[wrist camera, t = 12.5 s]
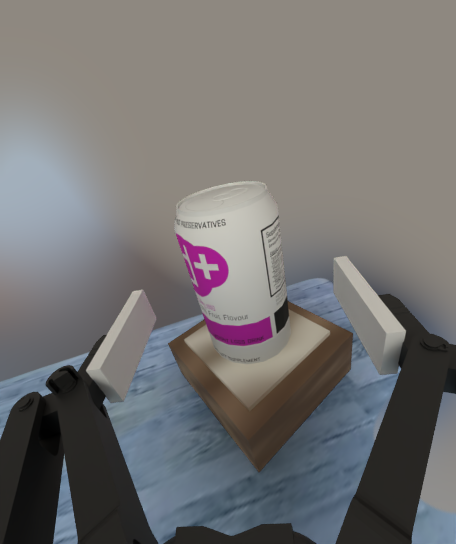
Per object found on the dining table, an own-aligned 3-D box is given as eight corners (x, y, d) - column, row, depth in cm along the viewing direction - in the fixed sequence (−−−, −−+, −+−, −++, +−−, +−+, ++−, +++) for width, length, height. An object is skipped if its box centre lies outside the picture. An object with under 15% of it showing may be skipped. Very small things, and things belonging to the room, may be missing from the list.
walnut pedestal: (182, 373, 32) (166, 340, 29) (261, 314, 38) (255, 282, 35) (258, 472, 21) (247, 436, 18) (350, 369, 28) (353, 329, 25)
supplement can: (243, 386, 22) (198, 224, 14) (200, 335, 28) (153, 205, 21) (309, 336, 25) (300, 182, 17) (257, 301, 31) (234, 177, 24)
